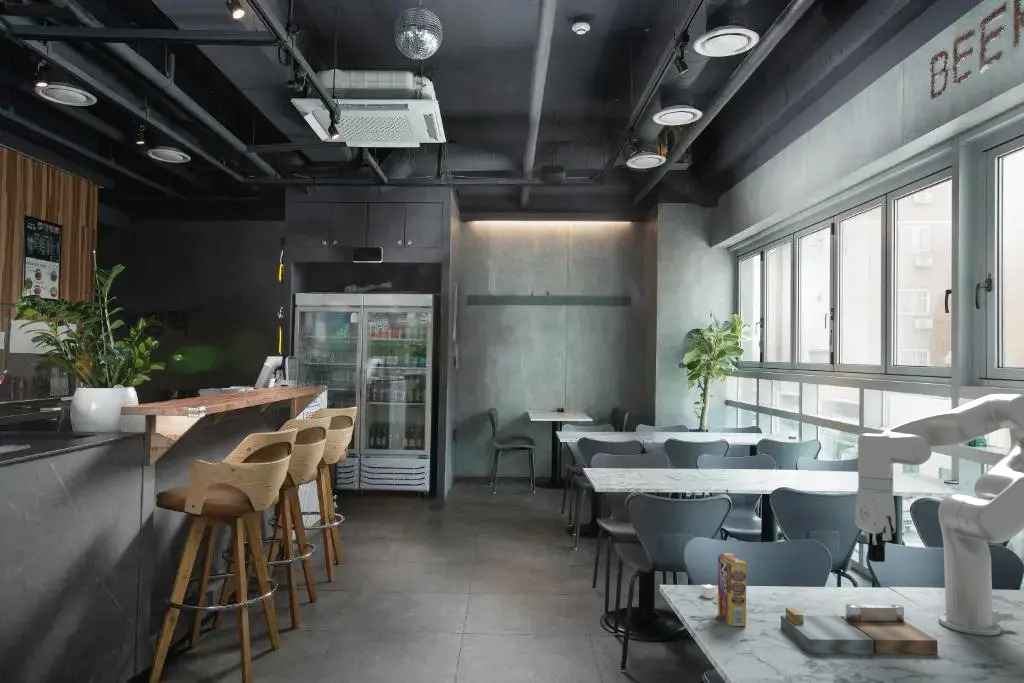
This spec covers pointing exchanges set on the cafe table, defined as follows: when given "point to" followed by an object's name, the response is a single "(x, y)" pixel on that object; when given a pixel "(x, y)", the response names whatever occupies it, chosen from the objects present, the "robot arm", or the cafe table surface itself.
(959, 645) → the cafe table surface
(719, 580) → the candy box
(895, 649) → the gray and brown slabs
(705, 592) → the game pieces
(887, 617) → the swing bar
